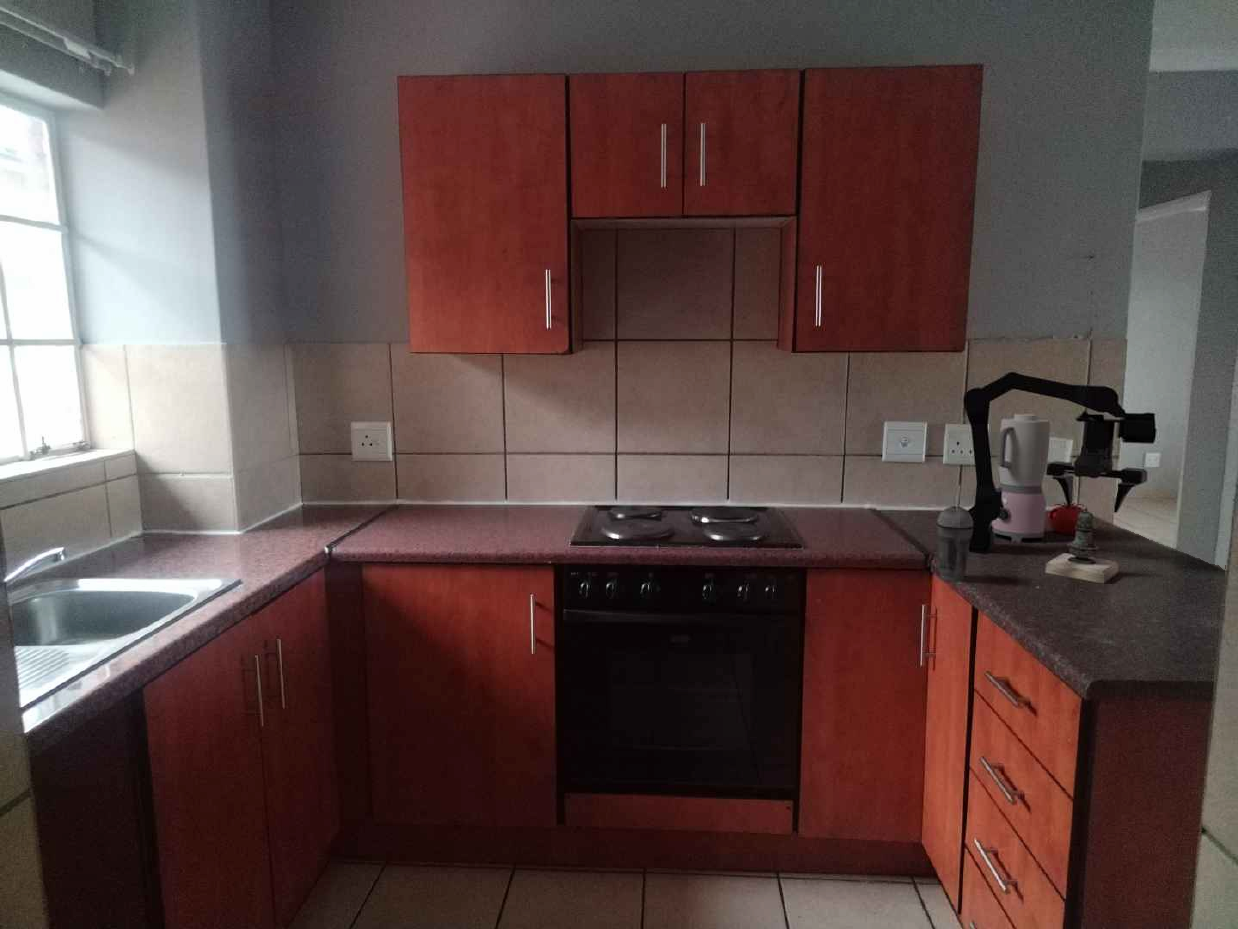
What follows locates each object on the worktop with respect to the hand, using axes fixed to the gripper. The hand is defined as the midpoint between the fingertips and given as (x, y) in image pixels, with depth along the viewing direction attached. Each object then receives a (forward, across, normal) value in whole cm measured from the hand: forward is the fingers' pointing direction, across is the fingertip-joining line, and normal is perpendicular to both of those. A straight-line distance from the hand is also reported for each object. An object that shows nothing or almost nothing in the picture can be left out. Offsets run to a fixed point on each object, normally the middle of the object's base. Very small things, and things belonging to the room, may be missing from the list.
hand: (1092, 509), depth 170 cm
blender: (+12, -20, +11) cm, 26 cm away
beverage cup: (+12, -16, -36) cm, 41 cm away
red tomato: (+12, -12, +28) cm, 33 cm away
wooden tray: (+12, +2, -12) cm, 17 cm away
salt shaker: (+10, +2, -12) cm, 16 cm away
